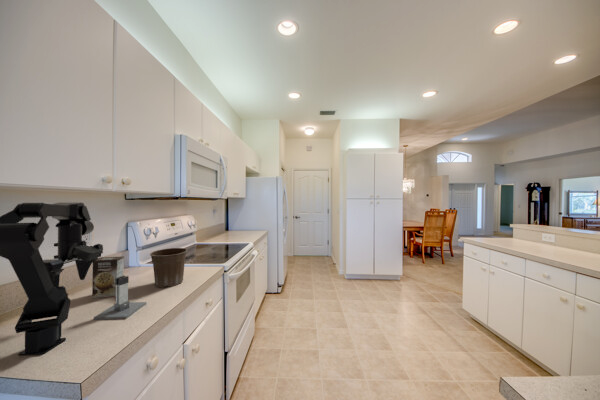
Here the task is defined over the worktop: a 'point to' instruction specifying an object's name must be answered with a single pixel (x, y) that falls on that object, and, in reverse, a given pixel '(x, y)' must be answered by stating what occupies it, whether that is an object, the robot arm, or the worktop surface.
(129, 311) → the plate
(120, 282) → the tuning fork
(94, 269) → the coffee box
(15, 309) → the worktop surface
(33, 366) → the worktop surface
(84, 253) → the robot arm
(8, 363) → the worktop surface
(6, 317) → the worktop surface
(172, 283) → the plant pot
